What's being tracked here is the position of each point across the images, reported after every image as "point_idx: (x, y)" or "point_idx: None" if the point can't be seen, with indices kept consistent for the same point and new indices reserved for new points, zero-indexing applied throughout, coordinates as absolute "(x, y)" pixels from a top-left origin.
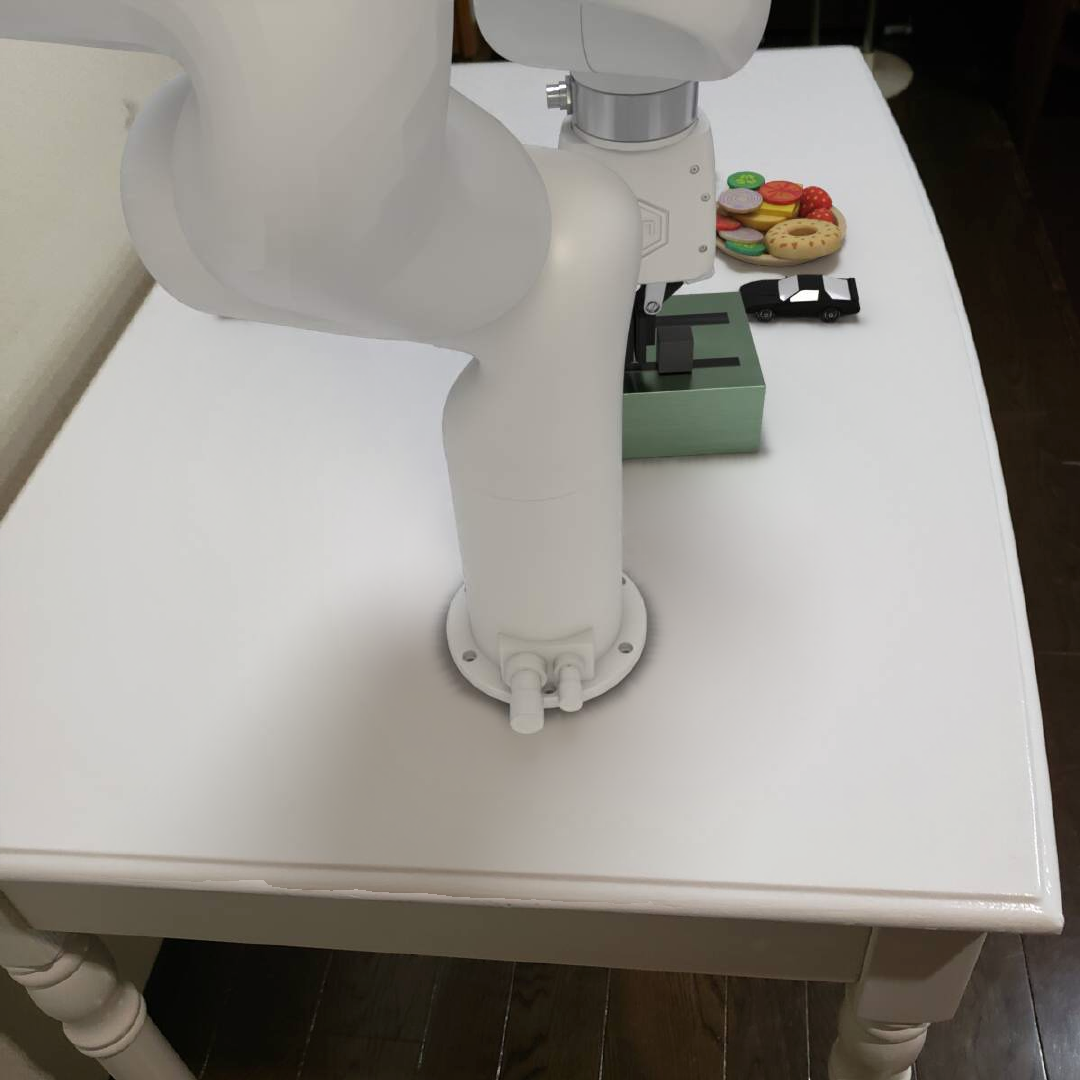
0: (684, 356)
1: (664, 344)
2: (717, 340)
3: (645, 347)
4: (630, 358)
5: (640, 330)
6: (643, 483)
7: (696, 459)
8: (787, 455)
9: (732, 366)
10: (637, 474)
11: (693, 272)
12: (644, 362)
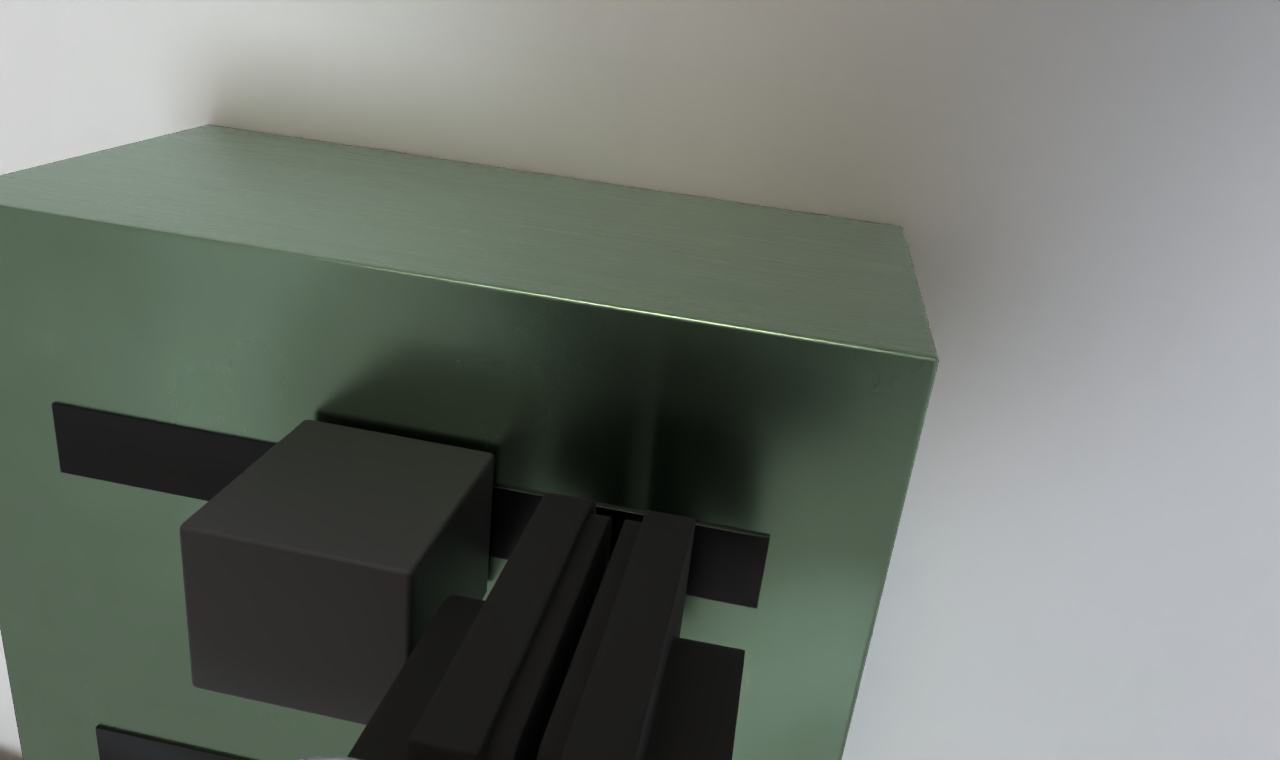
0: (298, 476)
1: (383, 558)
2: (160, 625)
3: (517, 558)
4: (643, 531)
5: (509, 659)
6: (722, 22)
7: (462, 135)
8: (100, 76)
9: (95, 407)
10: (735, 92)
11: None
12: (557, 494)
